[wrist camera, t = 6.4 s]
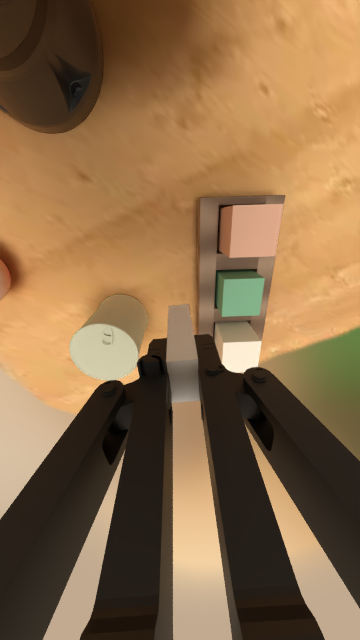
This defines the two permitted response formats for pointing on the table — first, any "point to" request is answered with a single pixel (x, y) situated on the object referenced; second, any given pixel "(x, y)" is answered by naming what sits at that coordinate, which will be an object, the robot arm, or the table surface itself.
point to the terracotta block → (249, 230)
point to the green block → (238, 292)
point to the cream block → (237, 345)
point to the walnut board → (226, 262)
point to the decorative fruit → (4, 280)
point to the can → (110, 338)
